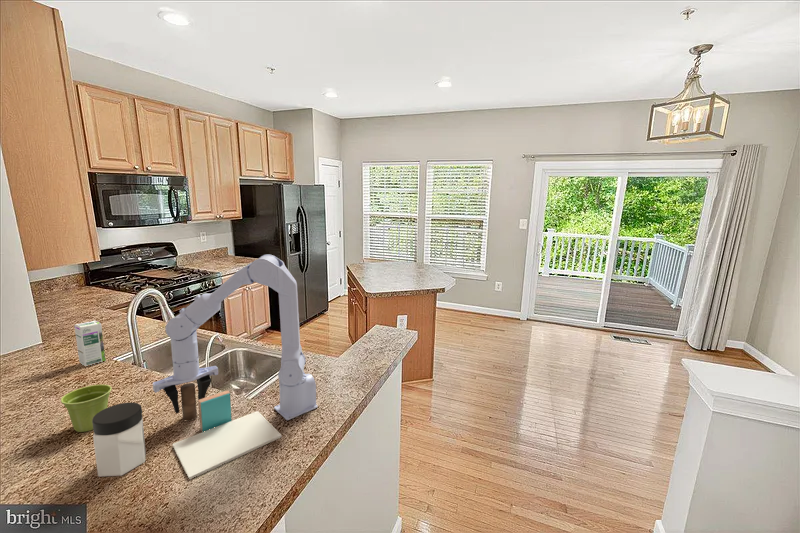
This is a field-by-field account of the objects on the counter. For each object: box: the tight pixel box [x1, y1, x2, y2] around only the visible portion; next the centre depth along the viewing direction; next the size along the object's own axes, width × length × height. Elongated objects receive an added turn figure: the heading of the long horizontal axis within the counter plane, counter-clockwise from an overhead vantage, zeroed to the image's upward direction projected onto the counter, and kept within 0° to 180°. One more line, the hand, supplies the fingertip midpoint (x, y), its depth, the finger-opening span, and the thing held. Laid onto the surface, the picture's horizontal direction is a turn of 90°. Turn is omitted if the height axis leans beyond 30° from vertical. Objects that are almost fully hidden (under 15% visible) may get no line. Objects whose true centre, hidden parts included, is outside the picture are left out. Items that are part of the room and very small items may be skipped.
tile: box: [197, 389, 233, 432], centre depth 88 cm, size 7×2×8 cm, turn 135°
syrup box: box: [74, 320, 107, 367], centre depth 120 cm, size 6×6×14 cm
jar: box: [92, 402, 147, 478], centre depth 73 cm, size 9×8×12 cm
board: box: [172, 410, 282, 480], centre depth 82 cm, size 20×14×1 cm
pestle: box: [180, 382, 198, 421], centre depth 90 cm, size 3×3×9 cm
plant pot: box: [60, 384, 113, 433], centre depth 86 cm, size 9×9×9 cm
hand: (189, 407), depth 91 cm, fingers open, 5 cm apart
